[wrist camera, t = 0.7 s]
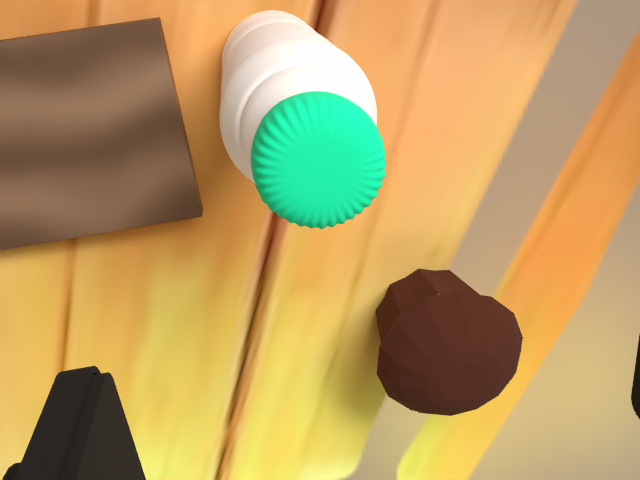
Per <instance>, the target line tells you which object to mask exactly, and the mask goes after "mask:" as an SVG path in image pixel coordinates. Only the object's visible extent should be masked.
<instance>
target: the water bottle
mask: <svg viewBox="0 0 640 480" xmlns="http://www.w3.org/2000/svg"><path fill="white" fill-rule="evenodd" d="M219 121H220V130H221V135H222V139H223V143H224V146H225V148H226V150H227V153H228V155H229V156H230V158H231V160H232V161H233V163H234V164H235V166H236V167H237V168H238V169H239V171H240V172H241V173H242V174H243V175H244V176H245V177H246V178H248V179H249V180H250V181H251V182H253V183H254V184H255V185H256V188H257V190H258V192H259V194H260V196H261V198H262V201H263V202H264V203H266V204H267V205H268V207H269V209H270V210H271V211H273V212H276V213H277V215H278V216H279V217H281V218H285V219H286V220H287V221H288V222H290V223H296V224H297V225H299V226H307V227H309V228H314V227H318V228H320V229H323V228H325V227H326V226H330V227H334V226H335V225H336V224H337V223H340V224H343V223H344V222H345V221H346V220H347V219H353V218H354V216H355V215H356V214H359V213H362V211H363V209H364V207H368V206H370V204H371V201H372V199H373V198H375V197H376V196H377V192H378V189H380V188H381V186H382V179H383V178H384V177H385V169H384V167H385V166H386V161H385V157H384V156H385V149H384V147H383V140H382V138H381V136H380V134H379V131H378V129H377V107H376V101H375V97H374V93H373V90H372V88H371V85H370V83H369V81H368V79H367V77H366V76H365V74H364V72H363V71H362V70H361V68H360V67H359V66H358V65H357V63H356V62H355V61H354V60H353V59H352V58H351V57H349V56H348V55H347V54H346V53H344V52H343V51H341V50H340V49H338V48H337V47H335V46H334V45H333V44H332V43H330V42H329V41H328V40H327V39H325V38H324V37H323V36H321V35H320V34H318V33H317V32H316V31H315V30H313V29H312V28H311V27H310V26H308V25H307V24H306V23H305V22H304V21H302V20H301V19H299V18H298V17H296V16H294V15H292V14H289V13H286V12H282V11H274V10H270V11H262V12H258V13H255V14H253V15H250V16H249V17H247V18H245V19H244V20H242V21H241V22H240V23H239V24H238V25H237V26H236V27H235V28H234V29H233V30H232V32H231V33H230V35H229V37H228V38H227V40H226V43H225V46H224V49H223V54H222V82H221V104H220V115H219Z"/></svg>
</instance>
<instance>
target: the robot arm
mask: <svg viewBox="0 0 640 480" xmlns="http://www.w3.org/2000/svg"><path fill="white" fill-rule="evenodd" d="M631 400H632V405H633V408H634V411H635V412H636V415H637V416H638V417H639V419H640V336H639V343H638V351H637V358H636V366H635V373H634V380H633V387H632V395H631ZM3 480H146V478H145V475H144V472H143V469H142V466H141V463H140V460H139V457H138V454H137V451H136V447H135V444H134V441H133V438H132V435H131V432H130V429H129V426H128V423H127V420H126V417H125V413H124V410H123V407H122V404H121V401H120V398H119V395H118V392H117V389H116V386H115V383H114V380H113V377H112V375H111V374H110V373H102V374H101V373H100V371H99V369H98V368H97V367H96V366H91V367H85V368H80V369H74V370H68V371H62V372H60V373H58V375H57V376H56V378H55V381H54V383H53V385H52V388H51V390H50V393H49V395H48V398H47V400H46V403H45V405H44V408H43V410H42V413H41V415H40V418H39V420H38V422H37V425H36V427H35V430H34V432H33V435H32V437H31V440H30V442H29V445H28V447H27V450H26V452H25V454H24V457H23V459H22V462H21V463H15V464H13V465H12V466H11V467H9V469H8V470H7V472H6V474H5V475H4V477H3Z"/></svg>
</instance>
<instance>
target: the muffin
mask: <svg viewBox="0 0 640 480" xmlns="http://www.w3.org/2000/svg"><path fill="white" fill-rule="evenodd" d="M376 315H377V321H378V327H379V333H380V339H381V345H380V346H379V356H378V367H377V375H378V377H379V379H380V381H381V383H382V385H383V387H384V389H385V391H386V392H387V394H388V396H389V397H390V398H392V399H394V400H396V401H397V402H399V403H400V404H402V405H404V406H405V407H407V408H409V409H410V410H414V411H417V412H420V413H427V414H438V415H449V416H451V415H455V414H459V413H463V412H467V411H471V410H475V409H477V408H479V407H481V406H482V405H484V404H486V403H487V402H489V401H490V400H492V399H494V398H495V397H497V396H498V395H499V394H500V393H501V392H502V390H503V389H504V388H505V386H506V385H507V384H508V383H509V381H510V380H511V379H512V378H513V376H514V374H515V373H516V370H517V365H518V361H519V357H520V352H521V344H522V339H523V337H522V334H521V332H520V329H519V326H518V323H517V321H516V318H515V315H514V313H513V312H511V311H510V310H509V309H507V308H506V307H505V306H503V305H502V304H500V303H499V302H498V301H496V300H495V299H494V298H492V297H489V296H482V295H479V294H478V293H477V292H476V291H474V290H473V289H472V288H471V287H469V286H468V285H467V284H466V283H465V282H463V281H462V280H461V279H459V278H458V277H457V276H456V275H455V274H453V273H452V272H451V271H450V270H441V271H432V270H424V269H417V270H416V271H414V272H413V273H411V274H410V275H408V276H407V277H405V278H403V279H401V280H399V281H397V282H394V283H392V284H390V286H389V288H388V291H387V293H386V295H385V297H384V299H383V301H382V302H381V304H380V305H379V307H378V308H377V310H376Z"/></svg>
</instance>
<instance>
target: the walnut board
mask: <svg viewBox="0 0 640 480" xmlns="http://www.w3.org/2000/svg"><path fill="white" fill-rule="evenodd" d="M202 212H203V208H202V203H201V199H200V194H199V190H198V185H197V181H196V176H195V172H194V168H193V163H192V159H191V154H190V150H189V145H188V141H187V136H186V132H185V127H184V123H183V118H182V114H181V109H180V105H179V101H178V96H177V92H176V87H175V83H174V78H173V74H172V69H171V65H170V60H169V56H168V51H167V47H166V42H165V38H164V34H163V29H162V25H161V20H160V17H159V18H152V19H145V20H138V21H131V22H124V23H117V24H110V25H103V26H96V27H89V28H82V29H75V30H68V31H61V32H54V33H47V34H40V35H33V36H26V37H19V38H12V39H5V40H0V250H5V249H11V248H17V247H23V246H29V245H35V244H41V243H47V242H52V241H58V240H64V239H70V238H76V237H82V236H88V235H94V234H100V233H106V232H112V231H118V230H124V229H130V228H136V227H142V226H148V225H154V224H160V223H166V222H172V221H178V220H184V219H189V218H195V217H201V216H202Z"/></svg>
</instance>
